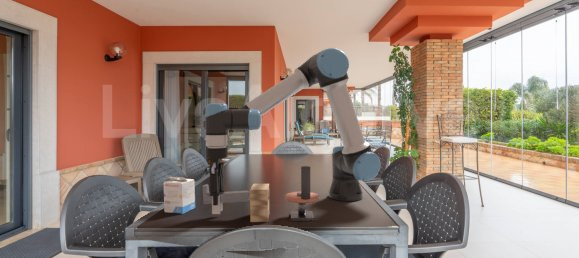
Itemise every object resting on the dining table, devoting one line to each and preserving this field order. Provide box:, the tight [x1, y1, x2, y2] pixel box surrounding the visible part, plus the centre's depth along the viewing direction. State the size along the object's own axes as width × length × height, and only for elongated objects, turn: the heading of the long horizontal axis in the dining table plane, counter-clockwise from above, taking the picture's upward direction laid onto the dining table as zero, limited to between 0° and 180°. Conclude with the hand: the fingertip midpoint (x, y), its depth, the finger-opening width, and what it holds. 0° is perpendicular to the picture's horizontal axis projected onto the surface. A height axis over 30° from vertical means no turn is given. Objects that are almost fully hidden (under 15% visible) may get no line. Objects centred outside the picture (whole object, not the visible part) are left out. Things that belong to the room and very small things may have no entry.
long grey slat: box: [202, 183, 250, 205], centre depth 116 cm, size 16×3×6 cm, turn 91°
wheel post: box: [290, 203, 315, 222], centre depth 117 cm, size 8×8×6 cm
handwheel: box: [284, 165, 320, 204], centre depth 116 cm, size 12×12×12 cm
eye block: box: [249, 183, 270, 223], centre depth 116 cm, size 6×10×11 cm, turn 1°
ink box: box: [163, 176, 196, 215], centre depth 126 cm, size 9×8×13 cm
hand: (217, 212), depth 116 cm, fingers closed on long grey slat, 3 cm apart
